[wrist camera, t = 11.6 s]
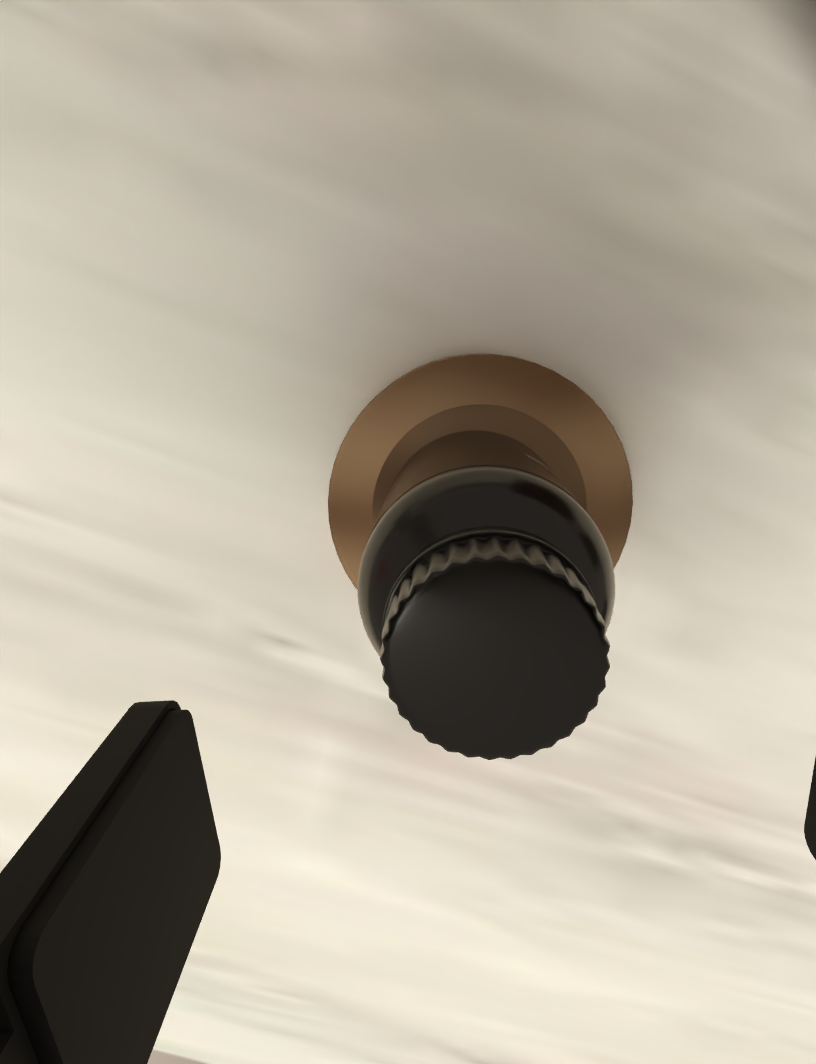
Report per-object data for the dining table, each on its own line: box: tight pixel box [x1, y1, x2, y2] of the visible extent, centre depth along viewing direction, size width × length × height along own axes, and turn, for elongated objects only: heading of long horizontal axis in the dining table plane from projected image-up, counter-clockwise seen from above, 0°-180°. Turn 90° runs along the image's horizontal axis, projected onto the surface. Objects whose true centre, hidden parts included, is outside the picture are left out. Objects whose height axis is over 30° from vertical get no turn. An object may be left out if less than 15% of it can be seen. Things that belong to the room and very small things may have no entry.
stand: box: [328, 354, 633, 590], centre depth 25 cm, size 12×12×2 cm
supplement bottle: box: [358, 430, 615, 760], centre depth 18 cm, size 7×7×12 cm
